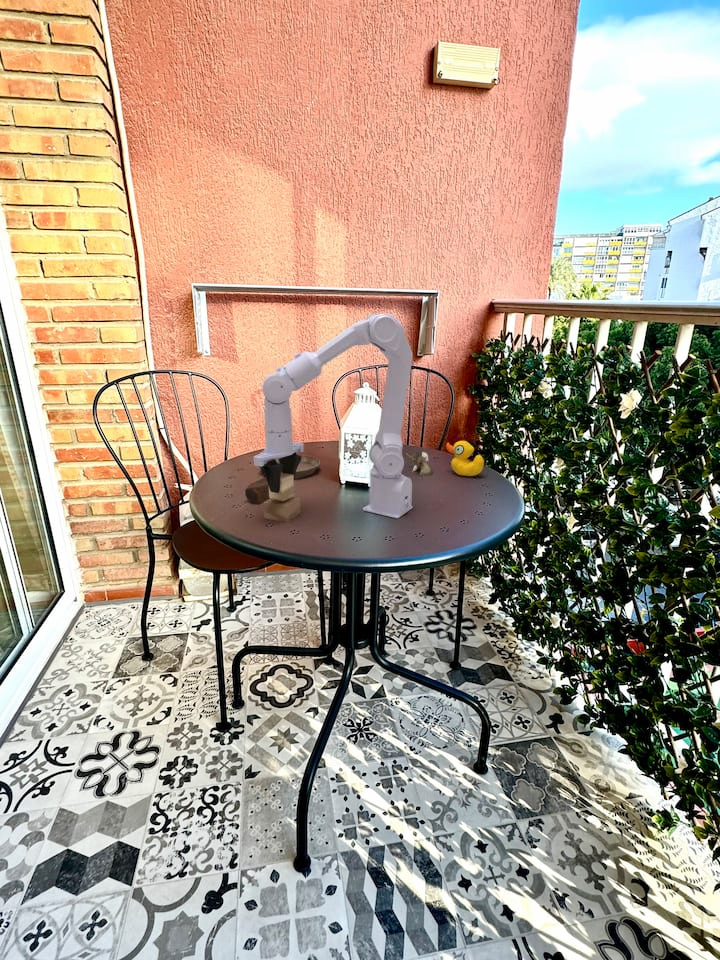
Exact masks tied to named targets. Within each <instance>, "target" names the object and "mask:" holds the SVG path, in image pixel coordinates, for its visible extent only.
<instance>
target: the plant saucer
mask: <svg viewBox="0 0 720 960" xmlns="http://www.w3.org/2000/svg"><path fill="white" fill-rule="evenodd" d="M299 455H300V456H301V461H300V463H299V465H298V467H297V470H296V473H295V477H294V478H295V479H300V477H301V478H304V477H307V476H311V475H312V474H314V473H315V471H317V469H318V467H320V464H321V460H320V459H318V458H317V457H314V456H311V455H306V454H305V455H304V454H299ZM276 462H277V463H278V464H280V463H279V460H278V459H277V460H276ZM281 473H282V471H281Z"/></svg>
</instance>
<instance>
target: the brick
mask: <svg viewBox="0 0 720 960" xmlns="http://www.w3.org/2000/svg"><path fill="white" fill-rule="evenodd" d="M244 491H245V492H244V493H245V497H246V499H247V502H249V503H254V505H259V504H262V502H263V503H264V502H265V501H267V500H269V499H270V498H269V485H268V482H267V479H266V477H265V476H264V478H263V477H262V478H261V479H259V480H256V481H254V482H252V483H250V484H248V486H247V487H246V488H245V490H244Z"/></svg>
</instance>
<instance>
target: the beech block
mask: <svg viewBox="0 0 720 960" xmlns="http://www.w3.org/2000/svg"><path fill="white" fill-rule="evenodd" d="M294 482H295V479H294V476H293V475H291V474H286V473H281V476H280V491H279V493H274V492H271V491H270V488H269V498H272V499H276V500H280V501H284V500H287V499H289V498H291V497H295V483H294Z"/></svg>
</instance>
